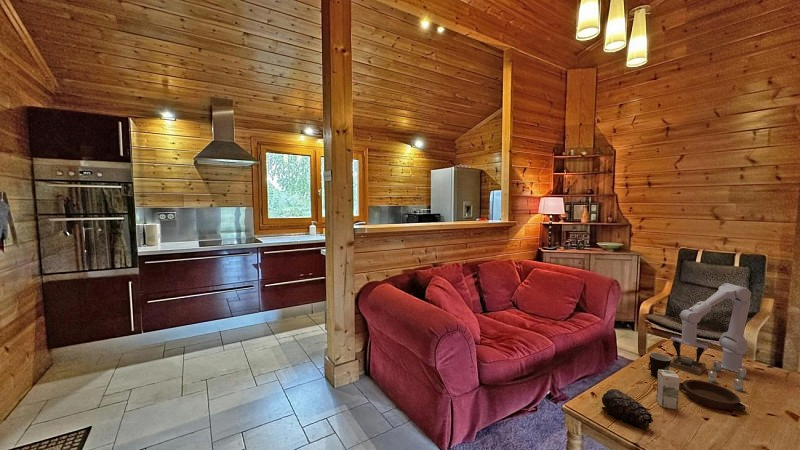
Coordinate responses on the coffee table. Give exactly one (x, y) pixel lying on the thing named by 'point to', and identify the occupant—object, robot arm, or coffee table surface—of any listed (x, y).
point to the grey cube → (687, 362)
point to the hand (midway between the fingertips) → (687, 358)
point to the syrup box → (667, 389)
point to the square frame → (687, 369)
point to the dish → (711, 395)
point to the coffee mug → (658, 363)
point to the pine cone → (626, 409)
